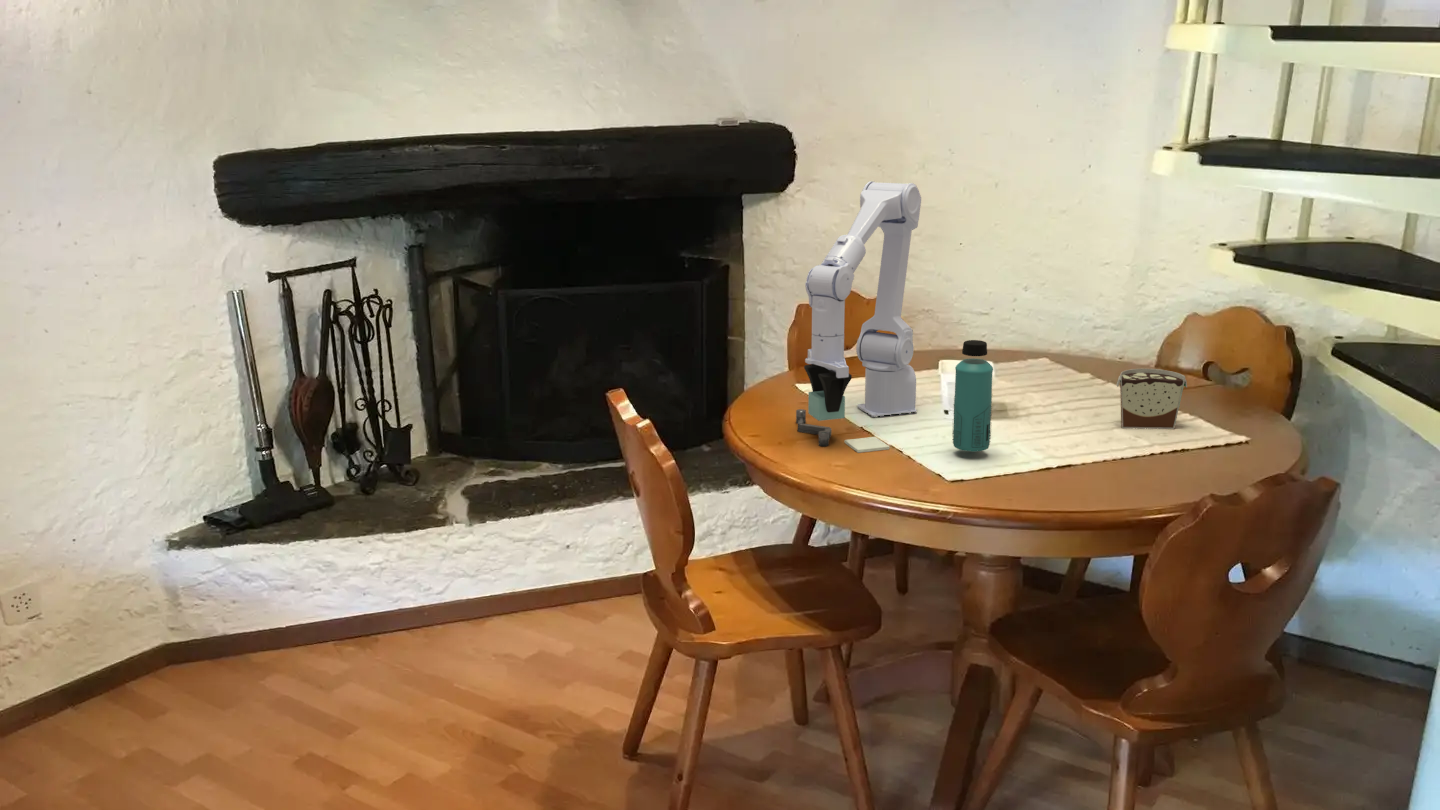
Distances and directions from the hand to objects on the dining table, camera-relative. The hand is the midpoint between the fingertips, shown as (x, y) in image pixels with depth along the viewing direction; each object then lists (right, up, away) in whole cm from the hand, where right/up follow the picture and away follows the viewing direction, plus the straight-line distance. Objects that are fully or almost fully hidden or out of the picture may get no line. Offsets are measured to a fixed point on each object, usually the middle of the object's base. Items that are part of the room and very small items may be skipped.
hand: (826, 407), depth 200 cm
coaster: (+7, -7, -3) cm, 10 cm away
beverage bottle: (+24, -8, -8) cm, 27 cm away
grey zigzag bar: (-2, -5, +5) cm, 7 cm away
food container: (+60, -3, +8) cm, 61 cm away
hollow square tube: (0, -1, 0) cm, 2 cm away
